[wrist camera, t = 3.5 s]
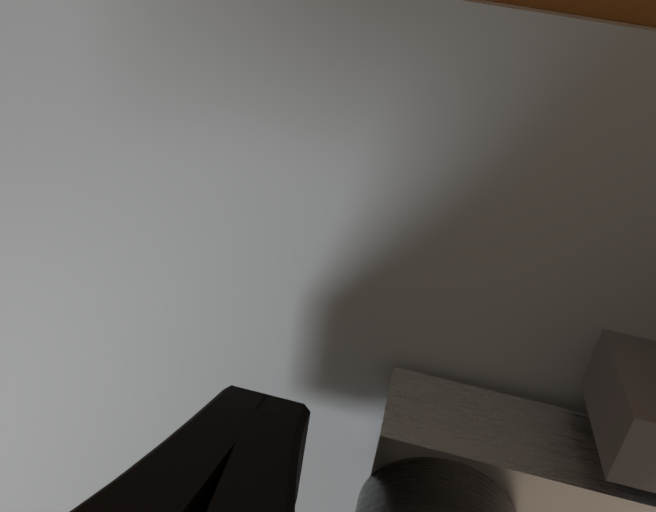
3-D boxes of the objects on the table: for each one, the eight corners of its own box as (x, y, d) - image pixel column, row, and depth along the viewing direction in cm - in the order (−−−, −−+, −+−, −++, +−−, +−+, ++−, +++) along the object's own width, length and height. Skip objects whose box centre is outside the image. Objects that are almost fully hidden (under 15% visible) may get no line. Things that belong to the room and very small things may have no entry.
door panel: (557, 658, 14) (579, 838, 11) (-4, 491, 15) (-111, 608, 13) (866, 60, 8) (1088, 112, 5) (-90, -92, 10) (-325, -120, 7)
